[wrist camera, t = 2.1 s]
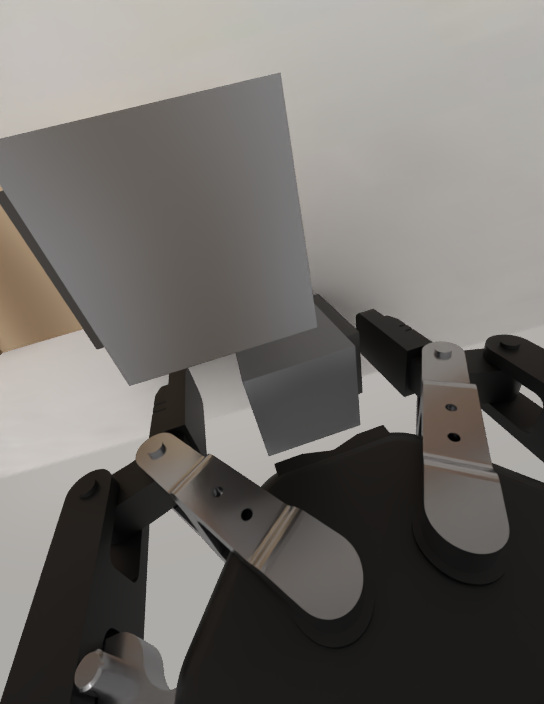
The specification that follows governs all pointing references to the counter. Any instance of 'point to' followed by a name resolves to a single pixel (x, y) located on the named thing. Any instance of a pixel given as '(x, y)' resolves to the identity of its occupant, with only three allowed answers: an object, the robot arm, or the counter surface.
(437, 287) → the counter surface
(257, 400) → the block
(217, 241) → the rail
